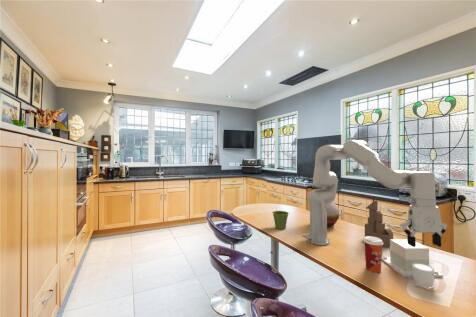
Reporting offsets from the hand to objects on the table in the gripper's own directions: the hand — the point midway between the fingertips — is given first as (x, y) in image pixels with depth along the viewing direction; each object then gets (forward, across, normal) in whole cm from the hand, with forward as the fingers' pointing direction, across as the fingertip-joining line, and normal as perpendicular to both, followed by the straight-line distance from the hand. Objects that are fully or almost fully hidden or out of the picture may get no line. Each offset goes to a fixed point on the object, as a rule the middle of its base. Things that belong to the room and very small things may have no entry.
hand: (424, 245), depth 84 cm
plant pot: (+14, -46, +68) cm, 83 cm away
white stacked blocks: (+16, +4, +14) cm, 21 cm away
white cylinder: (+16, 0, +1) cm, 16 cm away
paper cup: (+16, -13, +12) cm, 24 cm away
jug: (+15, -12, +74) cm, 76 cm away
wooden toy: (+15, +8, +44) cm, 47 cm away
